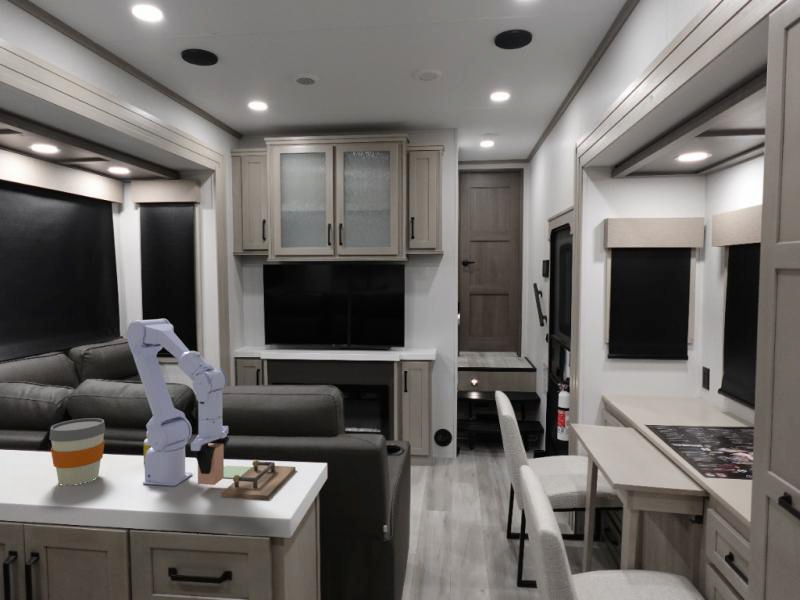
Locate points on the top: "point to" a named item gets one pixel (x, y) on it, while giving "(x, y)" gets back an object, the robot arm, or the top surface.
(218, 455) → the terracotta block
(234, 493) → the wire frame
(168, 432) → the robot arm
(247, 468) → the mat
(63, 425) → the reusable coffee cup
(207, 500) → the top surface
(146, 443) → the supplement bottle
